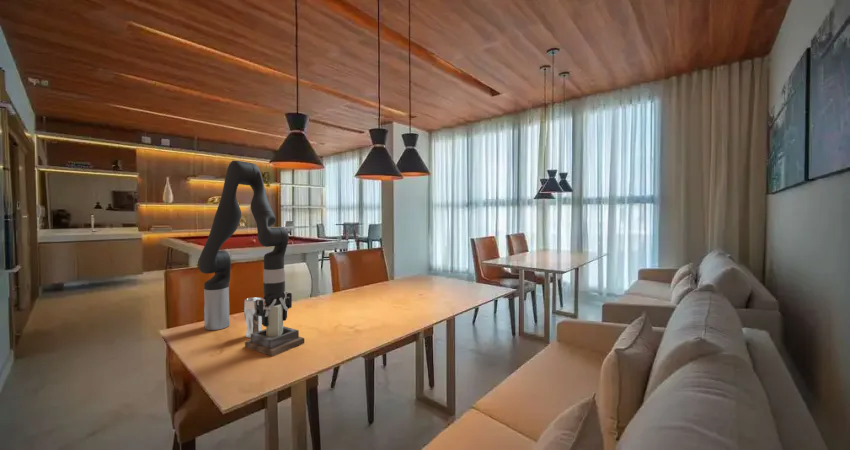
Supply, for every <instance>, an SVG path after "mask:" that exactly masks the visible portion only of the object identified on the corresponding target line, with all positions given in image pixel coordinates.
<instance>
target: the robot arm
mask: <svg viewBox="0 0 850 450" xmlns="http://www.w3.org/2000/svg"><path fill="white" fill-rule="evenodd" d="M239 185H240V186H241V185H243V186H249V187H251V189H252V191H253V194H252V198H251V203H250V211H251V214H252V216H253V217H254V218H253V219H254V221H255V224H256V228H257V229H256V230H257V240H258V242H259V245H261V246H263V247H264V248H265V247H266V248H267V247H270V248H271V247H274V248H273V250H272V251H270V252H266V253H265V254H264V256H263V274H262V277H263V279H262V280H263V285H262V286H263V287H262V288H263V295H264V296H263V297H262V299H260V300H259V299H257V300H256V315H257V316H261V317H262V322H261V326H263V327H265V328H266V327H267V326H268V314H269V312H270V311H271V307H273V306H275V305H279V304H282V307H283V322H284V321H287V319H288V310H289V309H291V308H292V307H293V306H292V305H293V304H292V303H293V299H292V297H293V293H291V292H287V291H286V272H285V255H286V252H287V248H288V243H289V239H290V235H289V232H288V231H287V229H286V228H285V227H280V226H279V227H276V226H275V227H272V226H273V225H274V224H275V223H276V221H277V218H276V216H275V213H274V210H273V209H272V207H271V205H270V202H269V199H268V196H267V193H266V188H265V183H264V180H263V175H262V172H261V170H260V168H259V166H258V165H257V164H256V163H252V162H248V161H241V160H232V161H230V163H229V164H228V166H227V169H226V172H225V177H224V182H223V188H222V192H221V196H220V199H219V203H218V205H217V209H216V210H215V211H216V212H215V215H214V216H213V221H212V225H211V228H210V231H209V233H208V236H207V240H206V242H205V244H204V247H203V248H202V250H201V253H200V255H199V258H198V269H199V271H200V272H201V273H203V274H205V275H207V274H214V275H213V276H212V277H211V278H210V279H208V280H206V281H205V282H204V283H203V287H204V288H203V290H204V291H203V293H204V294H203V295H204V298H203V299H204V305H203V310H204V311H203V317H204V329H205V330H207V331H216V330H217V331H218V330H223V329H225V328H228V327H229V326H230V324H231V323H230V281H231V271H232V270H231V267H232V261H231V255H230V254H229V252H228V251H227V250H220V249H221V247H222V246H223V244H225V242H227V240H229V239H230V238H231V237H232V236H233V234H235V232H236V231H237V229H238V228H239V224H240V222H241V218H242V210H241V206H240V204H239V202H238V197H237V190H238V187H239ZM285 291H286V292H285ZM267 306H269V307H268V308H266V307H267Z"/></svg>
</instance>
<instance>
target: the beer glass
mask: <svg viewBox="0 0 850 450" xmlns="http://www.w3.org/2000/svg"><path fill="white" fill-rule="evenodd" d="M257 299H259V300H260V299H263V297H262V296H261V297H257V296H256V297H248V298H246V299H244V304H243V306H244V307H243V312H244V320H245V324H246V333H245V338H248V339H251V334H252V333H255V332H258V331H261V330H263V329H262V317H261V316H257V315H256V300H257Z"/></svg>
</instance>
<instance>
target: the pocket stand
mask: <svg viewBox="0 0 850 450" xmlns="http://www.w3.org/2000/svg"><path fill="white" fill-rule="evenodd" d="M299 333H300V332H299V329H296V328H291V327H289V326H284V325H283V333H282V334H281V335H280V336H277V337H274V338H270V337H267V336H266V328H265V329H262V330H261V331H258V332H255V333H252V334H251V338H250V340H249V339H248V340H246V341H245V342H244V347H245V348H246V349H250V350H252V351H255V352H258V353H262V354H265V355H268V356H270V357H274V356H276V355H279V354H282V353H285V352H288V351H289V350H291V349H294V348H297V347H298V346H301V345H303V344H305V337H301V336H300V335H299Z"/></svg>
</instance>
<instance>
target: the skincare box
mask: <svg viewBox="0 0 850 450" xmlns="http://www.w3.org/2000/svg"><path fill="white" fill-rule="evenodd" d="M268 307H269V306H267V307H266V308H268ZM283 326H284V321H283V307H282V304H279V305H275V306H273V307H271V311H270V312H269V314H268V326H267V327H265V329H266V336H267V337H270V338H274V337H277V336H280V335H281V334H282V333H283Z"/></svg>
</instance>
